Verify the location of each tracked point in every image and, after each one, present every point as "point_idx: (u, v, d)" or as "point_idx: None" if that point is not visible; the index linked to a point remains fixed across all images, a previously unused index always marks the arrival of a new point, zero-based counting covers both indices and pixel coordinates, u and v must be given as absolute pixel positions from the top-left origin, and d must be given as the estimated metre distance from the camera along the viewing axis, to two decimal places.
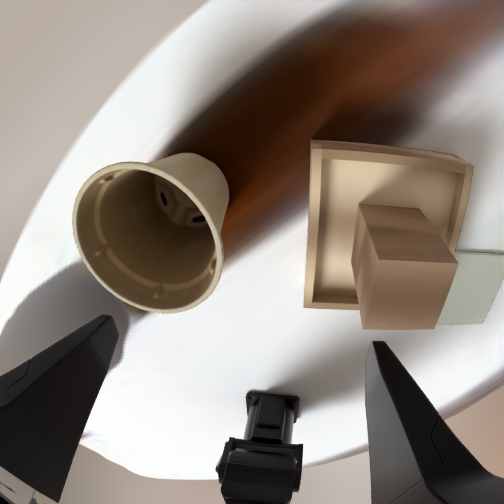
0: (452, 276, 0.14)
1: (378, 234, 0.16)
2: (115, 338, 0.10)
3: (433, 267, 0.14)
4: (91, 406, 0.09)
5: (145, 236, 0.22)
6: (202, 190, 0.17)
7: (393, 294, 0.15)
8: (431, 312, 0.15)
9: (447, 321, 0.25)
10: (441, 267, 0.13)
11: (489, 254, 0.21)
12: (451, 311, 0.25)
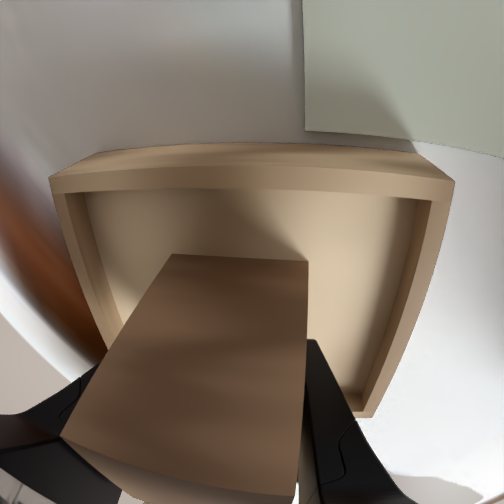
0: (93, 451, 0.04)
1: None
2: None
3: (100, 467, 0.05)
4: None
5: None
6: None
7: None
8: (219, 495, 0.04)
9: None
10: (90, 459, 0.05)
11: None
12: (485, 67, 0.07)
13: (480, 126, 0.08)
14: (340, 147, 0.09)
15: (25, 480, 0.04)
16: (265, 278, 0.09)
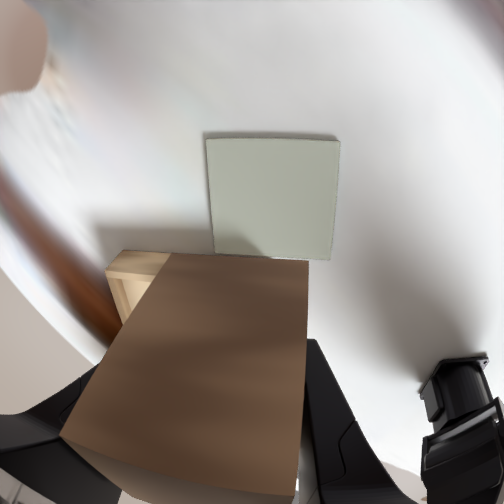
0: (92, 451, 0.04)
1: None
2: None
3: (99, 467, 0.05)
4: None
5: None
6: None
7: None
8: (219, 495, 0.04)
9: (327, 217, 0.19)
10: (90, 459, 0.05)
11: (209, 181, 0.20)
12: (307, 216, 0.20)
13: (305, 246, 0.21)
14: None
15: (25, 480, 0.04)
16: (265, 277, 0.09)
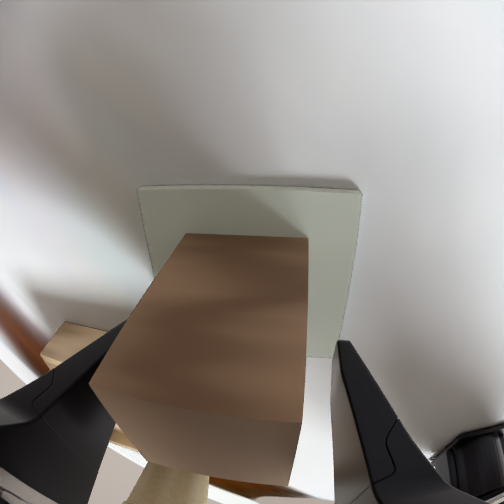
0: (120, 395, 0.06)
1: None
2: None
3: (122, 420, 0.06)
4: None
5: None
6: (135, 495, 0.20)
7: (198, 462, 0.07)
8: (234, 430, 0.06)
9: (334, 308, 0.12)
10: (114, 410, 0.06)
11: (151, 251, 0.13)
12: None
13: None
14: None
15: None
16: (270, 251, 0.10)
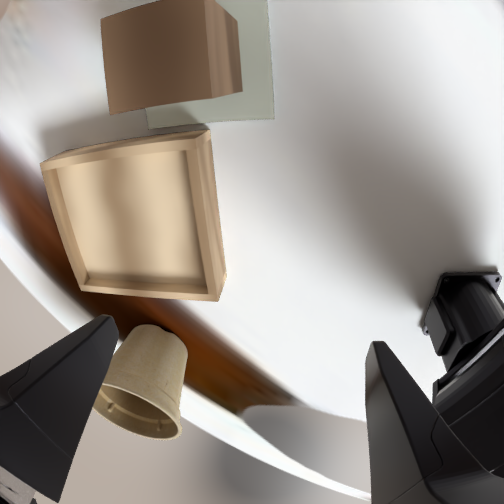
0: (116, 15, 0.09)
1: None
2: (115, 338, 0.10)
3: (108, 46, 0.10)
4: (91, 406, 0.09)
5: None
6: None
7: (147, 78, 0.10)
8: (171, 11, 0.09)
9: (263, 68, 0.16)
10: (107, 37, 0.09)
11: None
12: (241, 70, 0.16)
13: (242, 104, 0.17)
14: (165, 134, 0.18)
15: None
16: None
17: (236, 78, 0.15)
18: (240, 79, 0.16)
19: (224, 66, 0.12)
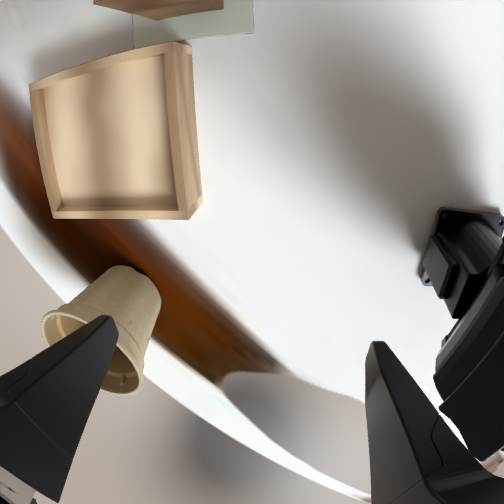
0: None
1: None
2: (115, 338, 0.10)
3: None
4: (91, 406, 0.09)
5: None
6: None
7: None
8: None
9: None
10: None
11: None
12: None
13: (223, 20, 0.15)
14: None
15: None
16: None
17: None
18: None
19: None
